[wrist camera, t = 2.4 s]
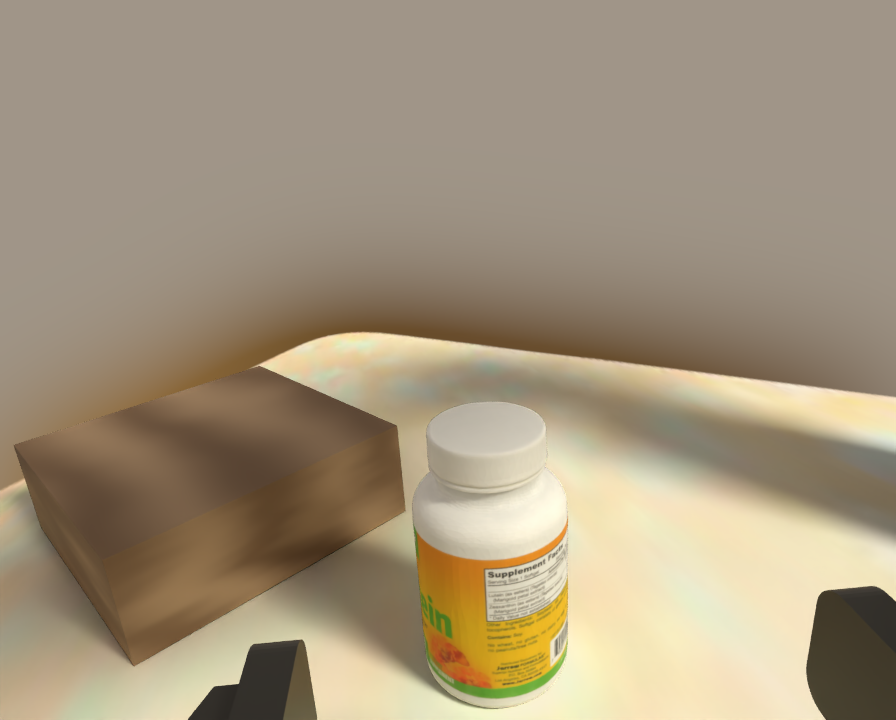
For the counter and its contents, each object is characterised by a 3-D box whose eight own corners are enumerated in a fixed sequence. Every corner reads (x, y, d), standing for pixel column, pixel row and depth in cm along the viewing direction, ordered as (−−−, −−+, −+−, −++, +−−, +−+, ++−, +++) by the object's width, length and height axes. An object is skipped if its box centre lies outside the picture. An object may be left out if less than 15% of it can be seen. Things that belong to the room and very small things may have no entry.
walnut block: (271, 434, 44) (259, 365, 42) (405, 510, 34) (396, 425, 32) (41, 527, 35) (13, 445, 33) (133, 666, 25) (102, 560, 23)
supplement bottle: (409, 625, 26) (386, 409, 23) (528, 589, 28) (523, 382, 24) (453, 735, 21) (433, 482, 18) (595, 684, 23) (600, 442, 20)
